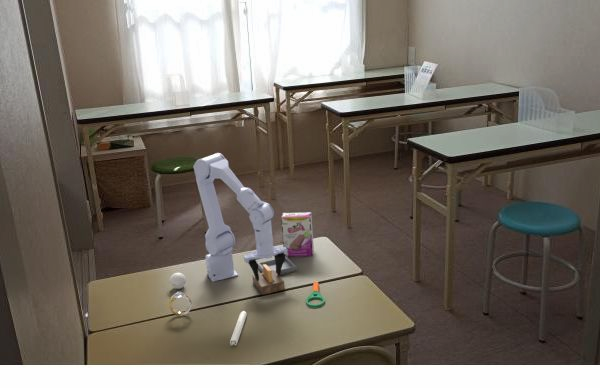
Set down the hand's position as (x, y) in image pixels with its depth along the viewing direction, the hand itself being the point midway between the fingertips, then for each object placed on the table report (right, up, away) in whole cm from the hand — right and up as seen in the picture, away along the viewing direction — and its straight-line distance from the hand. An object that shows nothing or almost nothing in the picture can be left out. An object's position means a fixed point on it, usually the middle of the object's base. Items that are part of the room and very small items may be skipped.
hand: (267, 277), depth 201 cm
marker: (-7, -12, -24) cm, 28 cm away
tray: (+3, +1, +13) cm, 13 cm away
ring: (-27, -10, -14) cm, 32 cm away
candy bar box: (+11, +5, +25) cm, 27 cm away
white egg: (-32, -5, +5) cm, 33 cm away
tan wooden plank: (0, -3, +1) cm, 3 cm away
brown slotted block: (0, -3, +1) cm, 3 cm away
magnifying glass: (+16, -6, -8) cm, 19 cm away
